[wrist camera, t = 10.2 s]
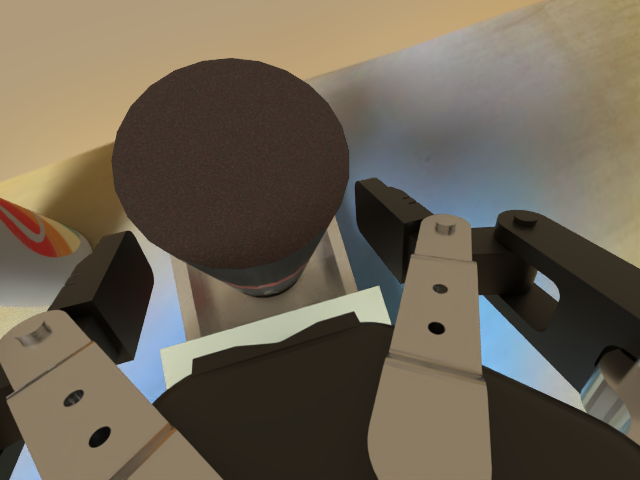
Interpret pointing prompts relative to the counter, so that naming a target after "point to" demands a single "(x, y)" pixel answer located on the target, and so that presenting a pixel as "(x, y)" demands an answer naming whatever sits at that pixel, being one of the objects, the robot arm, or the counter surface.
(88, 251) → the lotion bottle
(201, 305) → the white open box
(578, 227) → the counter surface
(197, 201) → the deodorant
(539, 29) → the counter surface
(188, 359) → the cream rectangular block
